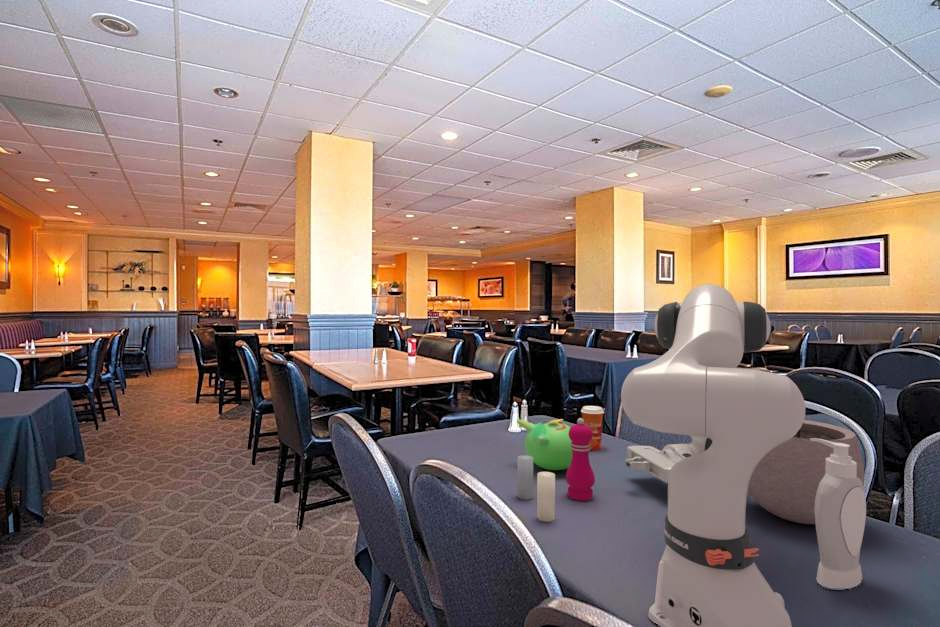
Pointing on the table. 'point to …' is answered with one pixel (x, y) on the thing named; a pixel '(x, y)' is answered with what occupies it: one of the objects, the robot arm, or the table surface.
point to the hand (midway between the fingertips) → (627, 464)
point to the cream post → (546, 496)
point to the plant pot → (799, 471)
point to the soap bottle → (839, 519)
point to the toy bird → (548, 444)
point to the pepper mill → (580, 463)
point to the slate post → (525, 477)
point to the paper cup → (594, 424)
